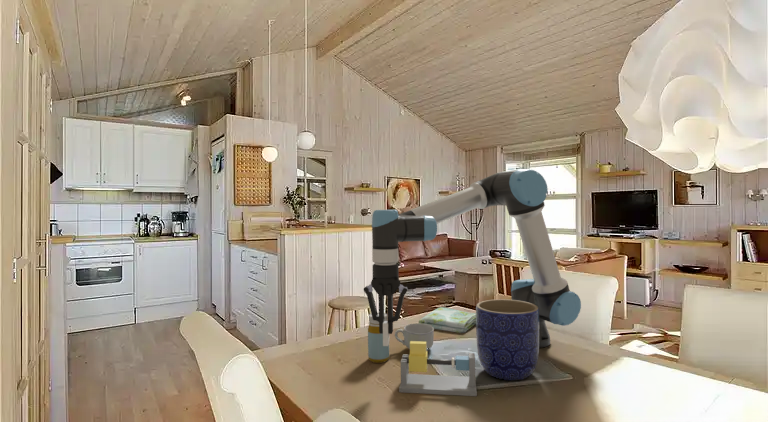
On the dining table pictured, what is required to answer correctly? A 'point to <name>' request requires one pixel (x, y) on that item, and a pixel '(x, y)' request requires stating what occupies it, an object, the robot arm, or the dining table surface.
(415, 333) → the teacup
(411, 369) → the sleeve
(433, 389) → the grey u-shaped stand
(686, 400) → the dining table surface
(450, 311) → the towel
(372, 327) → the bottle
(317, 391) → the dining table surface
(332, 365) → the dining table surface
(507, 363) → the planter
